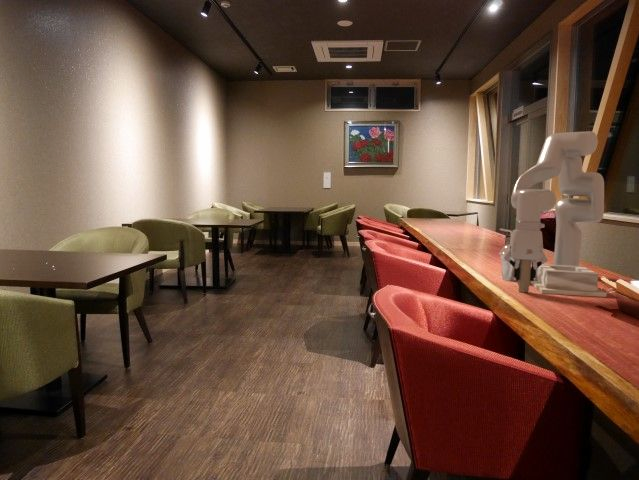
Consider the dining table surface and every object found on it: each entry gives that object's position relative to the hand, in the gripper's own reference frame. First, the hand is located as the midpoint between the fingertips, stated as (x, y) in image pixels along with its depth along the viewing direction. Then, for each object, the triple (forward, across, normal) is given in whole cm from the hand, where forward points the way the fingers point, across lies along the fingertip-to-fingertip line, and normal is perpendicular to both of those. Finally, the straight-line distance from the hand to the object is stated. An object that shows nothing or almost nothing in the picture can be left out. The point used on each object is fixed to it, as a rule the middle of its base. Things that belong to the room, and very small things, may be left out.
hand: (524, 279), depth 166 cm
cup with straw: (+5, +1, -23) cm, 23 cm away
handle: (+4, 0, 0) cm, 4 cm away
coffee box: (+5, -4, -39) cm, 39 cm away
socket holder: (+4, -16, -11) cm, 20 cm away
